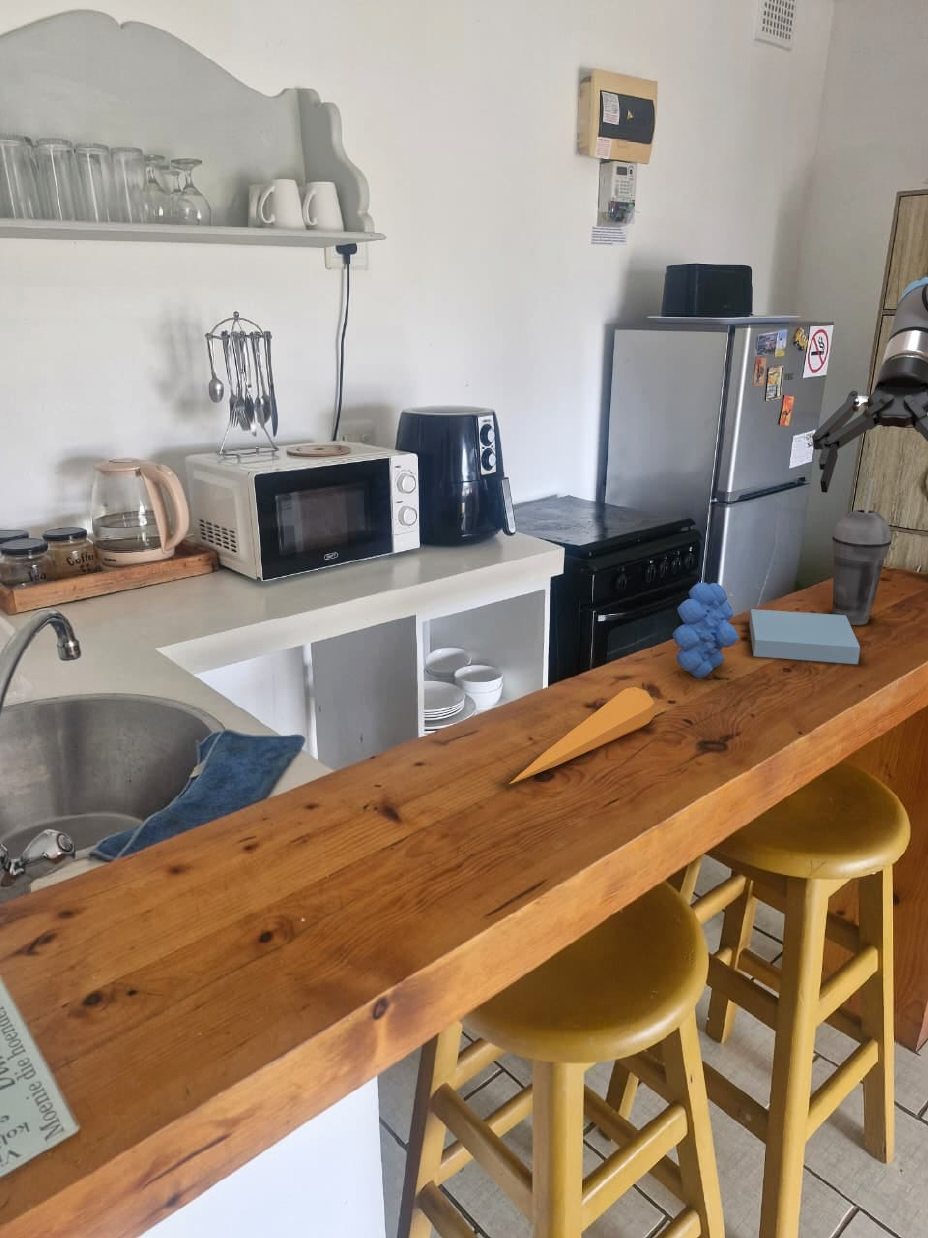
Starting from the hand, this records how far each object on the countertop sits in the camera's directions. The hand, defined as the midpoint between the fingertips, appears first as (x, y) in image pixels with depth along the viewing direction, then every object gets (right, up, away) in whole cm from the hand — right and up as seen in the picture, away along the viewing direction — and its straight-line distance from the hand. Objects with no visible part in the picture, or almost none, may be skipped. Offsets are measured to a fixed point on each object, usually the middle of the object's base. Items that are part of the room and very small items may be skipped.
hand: (875, 491), depth 120 cm
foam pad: (-14, -21, -8) cm, 26 cm away
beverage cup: (-4, -18, 0) cm, 18 cm away
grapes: (-28, -25, -18) cm, 42 cm away
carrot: (-46, -31, -34) cm, 65 cm away
